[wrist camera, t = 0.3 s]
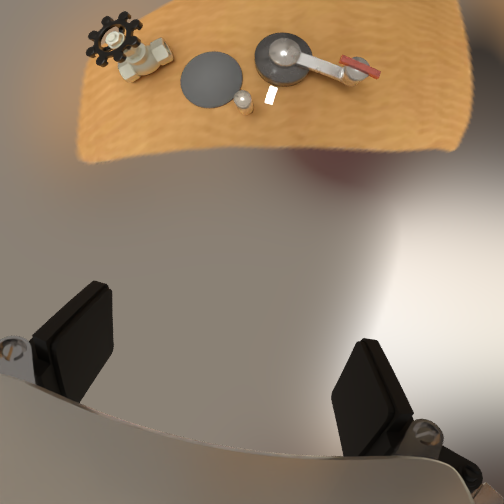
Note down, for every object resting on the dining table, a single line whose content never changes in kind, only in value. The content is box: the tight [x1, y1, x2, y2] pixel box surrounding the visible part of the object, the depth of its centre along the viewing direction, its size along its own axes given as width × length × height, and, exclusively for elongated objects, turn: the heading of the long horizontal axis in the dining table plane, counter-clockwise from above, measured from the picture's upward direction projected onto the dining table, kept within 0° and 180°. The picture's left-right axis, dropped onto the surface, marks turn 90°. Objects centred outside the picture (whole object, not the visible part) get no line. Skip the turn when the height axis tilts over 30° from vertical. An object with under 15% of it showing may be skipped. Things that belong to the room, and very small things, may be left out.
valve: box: [86, 11, 173, 83], centre depth 27 cm, size 7×7×12 cm
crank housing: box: [234, 33, 312, 115], centre depth 30 cm, size 12×7×7 cm, turn 162°
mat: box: [181, 52, 242, 108], centre depth 34 cm, size 8×8×1 cm
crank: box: [269, 38, 381, 86], centre depth 28 cm, size 12×4×6 cm, turn 72°
